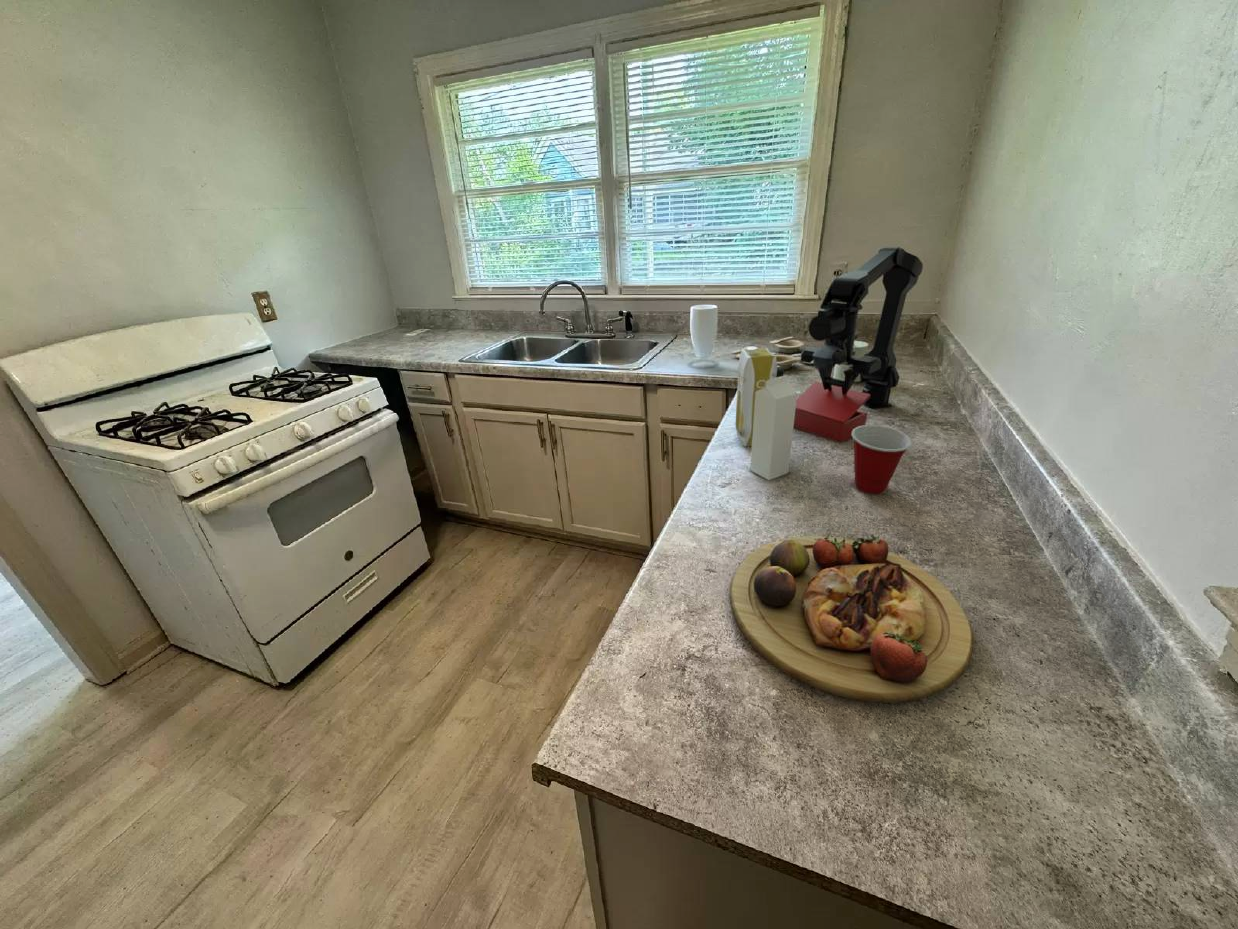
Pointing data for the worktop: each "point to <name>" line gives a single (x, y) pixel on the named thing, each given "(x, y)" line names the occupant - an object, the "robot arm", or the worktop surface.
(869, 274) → the robot arm
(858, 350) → the can
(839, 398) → the red box lid
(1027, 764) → the worktop surface
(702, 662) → the worktop surface
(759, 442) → the milk
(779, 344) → the tableware set
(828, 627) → the wooden plate
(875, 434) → the plastic cup
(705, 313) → the cup
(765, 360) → the juice carton
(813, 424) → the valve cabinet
